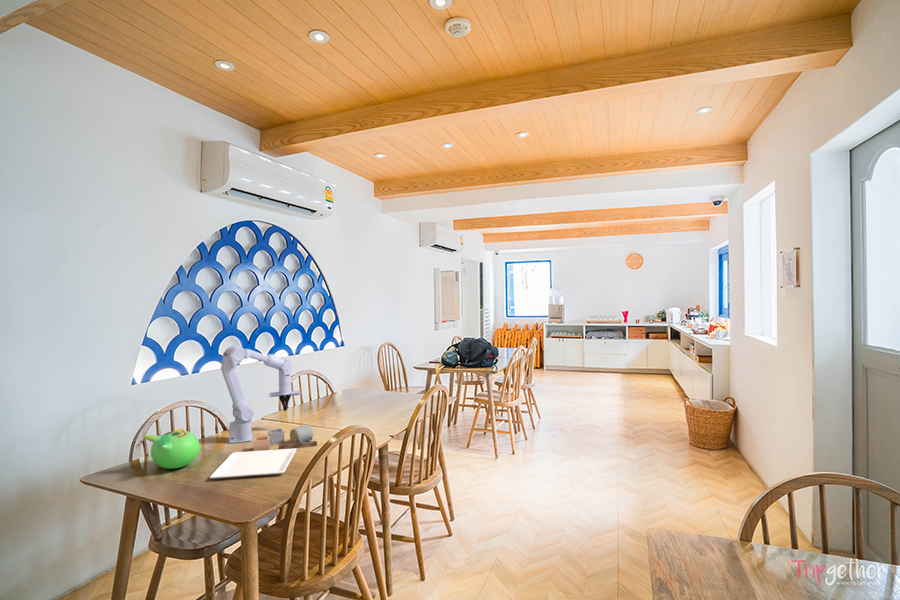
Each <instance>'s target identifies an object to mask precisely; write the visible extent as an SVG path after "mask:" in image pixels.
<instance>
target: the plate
mask: <svg viewBox="0 0 900 600" xmlns="http://www.w3.org/2000/svg"><path fill="white" fill-rule="evenodd" d="M296 451H297V448H292V449H279V448H278V449H269V450H264V451H254V450H251V451H235V452H232V453H231V454H230V455H228V457H227V458H226V459H225V460H224V461H223V462H222V463H221V464H220V465H219V466H218V467H217V468H216V470H214V472H213V473H212V474H211V475H210V476H209V478H210V479H229V478H239V477H240V478H241V477H242V478H243V477H245V478H246V477H258V476H268V475H269V476H270V475H272V476H273V475H280V474H284V473H285V471H286V469H287V467H288V466H289V464H290V462H291V460H292V459H293V457H294V455H295V453H296Z"/></svg>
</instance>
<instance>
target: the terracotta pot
mask: <svg viewBox="0 0 900 600" xmlns="http://www.w3.org/2000/svg"><path fill="white" fill-rule="evenodd" d="M253 439H254V440H253V451H264V450H271V449H270V448H271V445H270V436H268V435H264V436H263V435H262V436H256V437H254V438H253Z"/></svg>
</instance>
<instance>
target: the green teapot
mask: <svg viewBox="0 0 900 600" xmlns="http://www.w3.org/2000/svg"><path fill="white" fill-rule="evenodd" d="M185 429H186V427H182V428H178V429H175V430H173V431H172V430H171V431H169V432H166V433H163V434H162V435H152V434H151V435H150V434H144V435H143V436H142V438H143V439H145V440H147V441H148V442H151V443H152V445H151V447H150V456H151V459H152V460H153V461H152V462H154V463H155V465H157V466H159V467H160V468H163V469H180V468H183V467H186V466H187V465H190V463H192V462H193V461H194V460H195V459H196V458H197V457H198V456H199V454H200V450H201V444H200V441H199V439H198V437H197V436H196V435H195V434H194V433H192V432H190V431H188V430H185Z"/></svg>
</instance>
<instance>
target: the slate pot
mask: <svg viewBox="0 0 900 600" xmlns="http://www.w3.org/2000/svg"><path fill="white" fill-rule="evenodd" d="M267 436H270V446H271V445H275V444H282V443H283V444H284V443H285V431H284V429H283V428H275V429H267Z"/></svg>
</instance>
